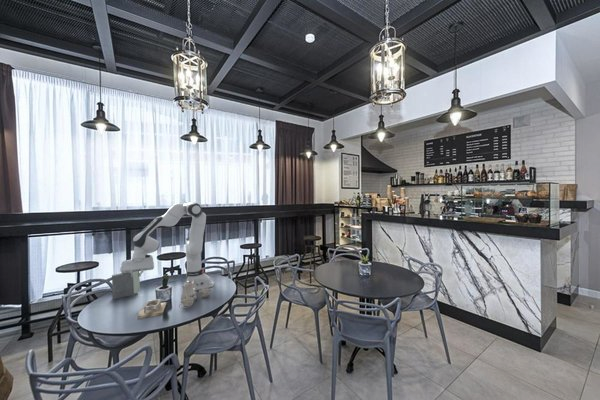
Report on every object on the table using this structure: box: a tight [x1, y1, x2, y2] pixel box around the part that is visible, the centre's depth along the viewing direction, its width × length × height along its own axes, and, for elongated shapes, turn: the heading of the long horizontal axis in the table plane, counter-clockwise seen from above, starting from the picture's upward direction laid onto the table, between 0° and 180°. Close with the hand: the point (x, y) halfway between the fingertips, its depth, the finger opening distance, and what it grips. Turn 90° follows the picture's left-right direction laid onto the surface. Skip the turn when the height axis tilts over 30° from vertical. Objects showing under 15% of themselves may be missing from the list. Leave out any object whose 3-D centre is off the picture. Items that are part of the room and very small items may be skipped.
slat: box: [133, 271, 141, 294], centre depth 170 cm, size 2×5×14 cm, turn 21°
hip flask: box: [111, 272, 139, 300], centre depth 188 cm, size 16×4×20 cm, turn 121°
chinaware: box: [178, 279, 212, 309], centre depth 177 cm, size 28×17×17 cm, turn 168°
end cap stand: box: [137, 298, 167, 319], centre depth 163 cm, size 14×16×6 cm
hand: (136, 276), depth 169 cm, fingers closed on slat, 2 cm apart
